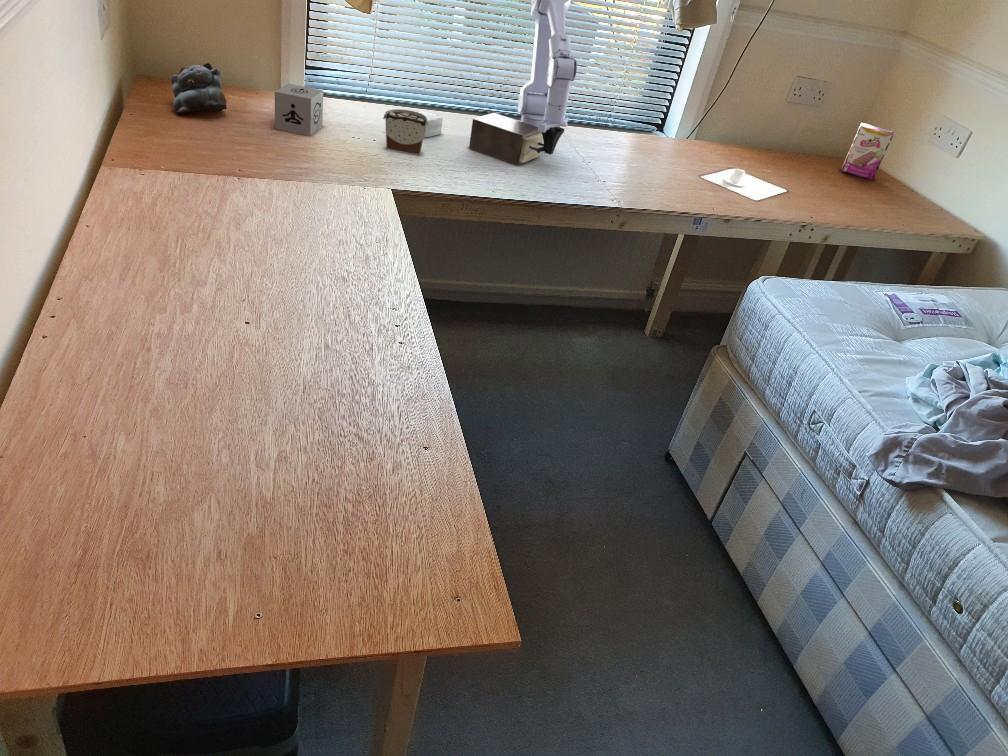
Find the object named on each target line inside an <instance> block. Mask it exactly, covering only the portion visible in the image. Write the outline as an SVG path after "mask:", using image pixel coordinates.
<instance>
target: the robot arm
mask: <svg viewBox="0 0 1008 756" xmlns="http://www.w3.org/2000/svg"><path fill="white" fill-rule="evenodd" d="M571 3H572V0H531V4H530V5H531V6H530V16H531V17H532V18H533V19H534V20H535V31H534V39H533V40H534V41H533V51H532V52H533V53H532V62H531V63H532V64H531V73H530V76H531V77H530V81H529V82H527V83H526V84H524V85H523V86H522V87H521V88H520V90H519V96H518V101H517V111H518V113H519V115H521V118H520V121H521V122H524V123H527V124H530V125H533V126H536V127H538V131H541V133H542V136H543V141H542V143H543V144H544V151H543V152H544V154H547V155H553V153H554V151H555V150H556V146H557V144H558V142H559V140H560V138H561V137H562V136H563V134H564V133H565V127H568V125H569V123H568V121H569V117H568V116H566V115H567V108H568V102H569V97H570V92H571V85H572V82H574V81H575V79H576V77H577V72H578V71H577V70H578V62H577V59H576V58H575V55H573V53H572V45H571V37H570V35H568V34H567V33H566V15H567V13H568V11H569V10H570V6H571Z"/></svg>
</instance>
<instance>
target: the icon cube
mask: <svg viewBox="0 0 1008 756" xmlns="http://www.w3.org/2000/svg"><path fill="white" fill-rule="evenodd" d="M323 112H324V90H323V89H318V88H314V87H313V88H312V87H309V86H302V85H298V84H295V83H294V84H293V83H287V84H285V85H283V86H282V87H279V88H278V89H277V90H275V91H274V130H279V131H283V132H289V133H293V134H299V135H302V136H308V137H311V136H312V135H314V134H315V133H316V132H318V131H319V130H320V129H321V128H322V127H323V119H324V118H323V117H324V116H323V115H324V113H323Z"/></svg>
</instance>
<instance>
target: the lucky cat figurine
mask: <svg viewBox="0 0 1008 756" xmlns="http://www.w3.org/2000/svg"><path fill="white" fill-rule="evenodd" d="M169 78H170V82H171V85H172V86H171V89H172V93H173V95H174V99H173V101H172V106H173V109H174V111H175V113H176V114H178V115H181V114H184V113H189V112H190V113H191V112H199V111H215V112H223V111H224V110H227V108H228V107H227V99H226V96H225V94H224V93H223V89H222V80H221V79H222V75H221V71H220V69H219V68H216V67H215V68H213V66H212V64H211V63H210V62H206V63H204V64H203V65H199V64H193V65H190V66H186V67H181V68H180V70H179V72H178V73H177V74H172V76H169Z"/></svg>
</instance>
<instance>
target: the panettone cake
mask: <svg viewBox="0 0 1008 756" xmlns="http://www.w3.org/2000/svg"><path fill="white" fill-rule="evenodd" d="M382 120H385V149H386V150H388V151H394V152H399V153H404V154H410V155H414V156H420V155H421V151H422V148H423V143H424V139H425V138H424V133H425V128H426V124H427V128H428V120H427V117H426V116H424V115H423V114H420V113H418V111H414V110H411V109H410V110H409V109H402V108H401V109H400V108H395V109H389V110H386V111H385V113H384V115H383V118H382Z"/></svg>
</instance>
